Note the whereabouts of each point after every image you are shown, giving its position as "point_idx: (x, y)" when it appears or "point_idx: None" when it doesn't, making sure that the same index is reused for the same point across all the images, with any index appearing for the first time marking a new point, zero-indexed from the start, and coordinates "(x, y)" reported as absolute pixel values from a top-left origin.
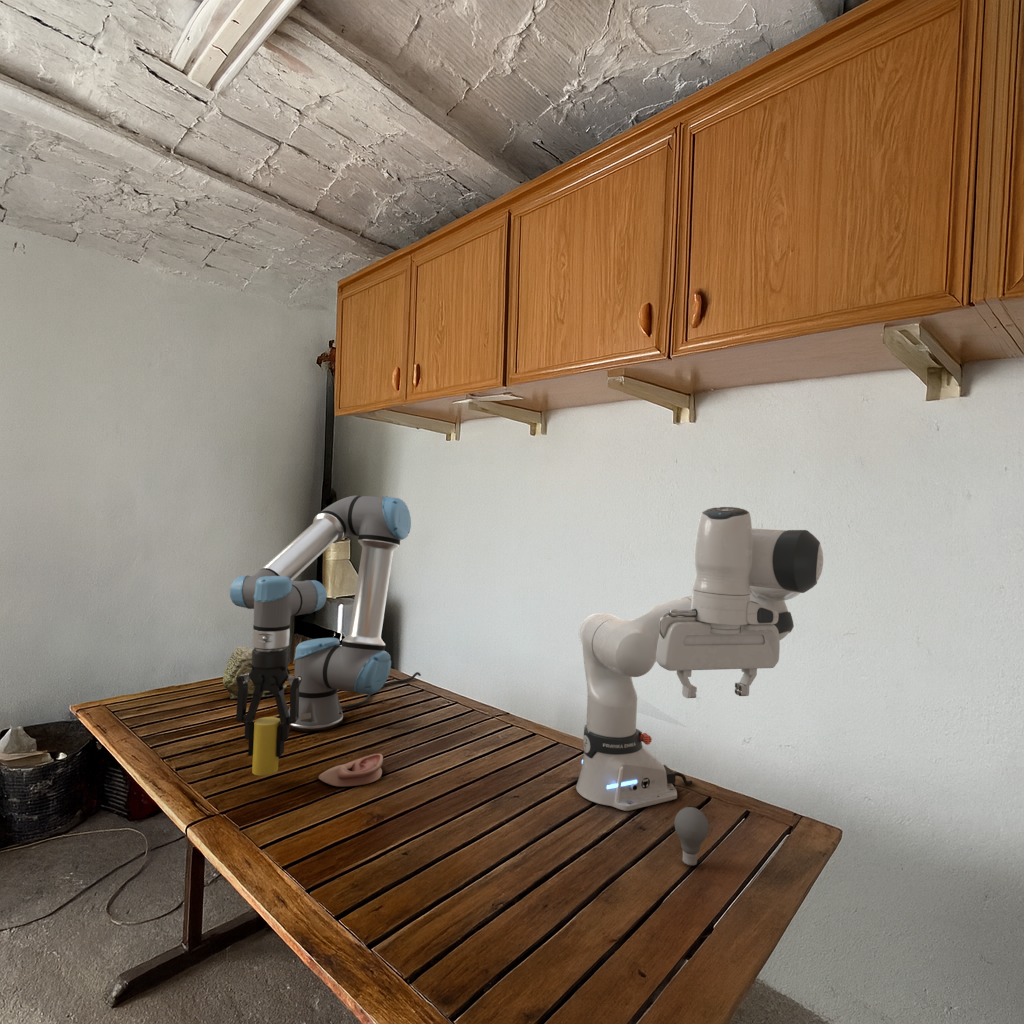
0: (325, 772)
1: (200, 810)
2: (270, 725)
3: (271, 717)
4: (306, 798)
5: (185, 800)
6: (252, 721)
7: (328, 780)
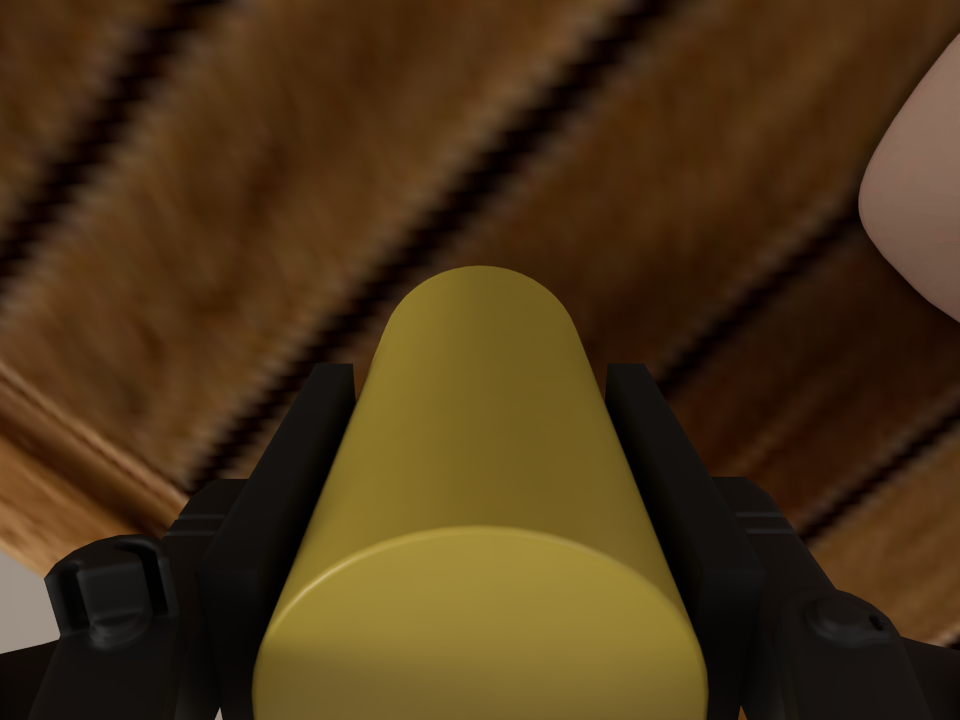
0: (933, 194)
1: None
2: None
3: (491, 561)
4: (794, 476)
5: (103, 531)
6: (197, 662)
7: (946, 292)
